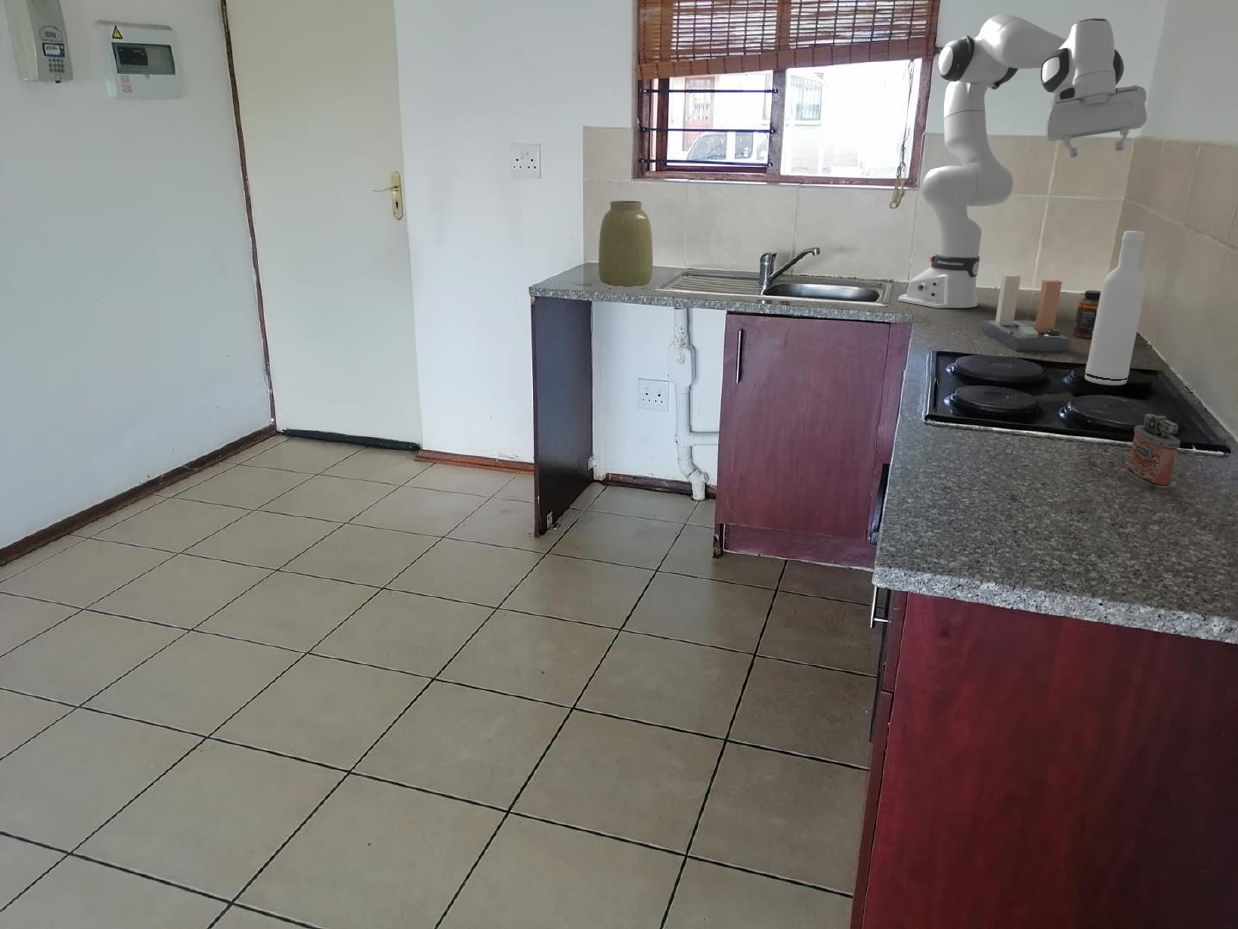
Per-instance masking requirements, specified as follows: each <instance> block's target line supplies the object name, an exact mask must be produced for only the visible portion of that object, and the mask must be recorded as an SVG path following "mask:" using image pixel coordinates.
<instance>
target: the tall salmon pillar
mask: <svg viewBox="0 0 1238 929" xmlns="http://www.w3.org/2000/svg"><path fill="white" fill-rule="evenodd" d="M1062 285H1063V281H1061V280H1057V279H1050V280H1049V279H1047V280H1046V279H1043V280H1042V282H1041V288H1040V294H1039V300H1038V305H1037V311H1036V318H1035V321H1036V323H1035V330H1036V331H1038V332H1046V330H1048V329H1055V324H1056V319H1057V312H1058V307H1059V301H1060V295H1061V292H1062V291H1061V289H1062Z"/></svg>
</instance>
